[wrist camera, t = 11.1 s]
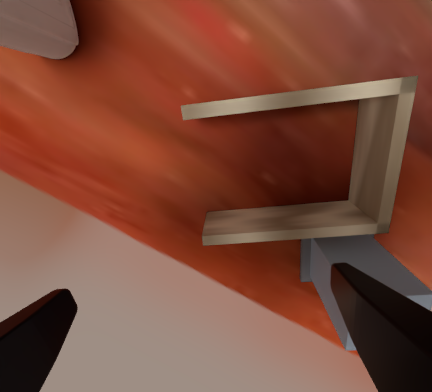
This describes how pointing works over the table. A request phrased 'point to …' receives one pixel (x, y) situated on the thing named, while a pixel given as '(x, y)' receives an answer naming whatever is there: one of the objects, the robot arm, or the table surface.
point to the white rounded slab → (38, 27)
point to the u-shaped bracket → (360, 175)
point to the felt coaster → (307, 260)
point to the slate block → (366, 262)
